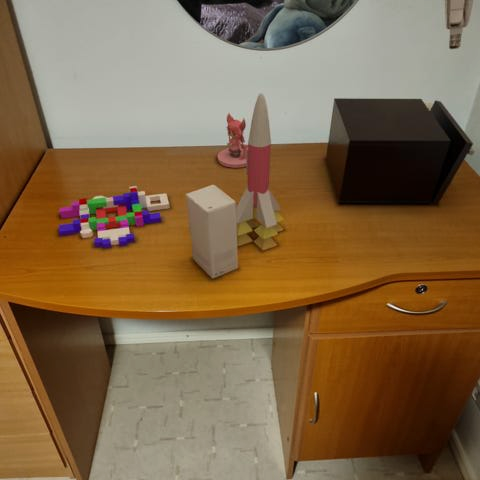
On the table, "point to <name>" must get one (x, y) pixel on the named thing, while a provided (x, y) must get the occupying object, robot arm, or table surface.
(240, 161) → the toy figure
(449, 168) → the oven door
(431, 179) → the oven
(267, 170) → the toy rocket
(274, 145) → the table surface
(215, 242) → the cosmetic box
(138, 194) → the building block set
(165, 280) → the table surface
